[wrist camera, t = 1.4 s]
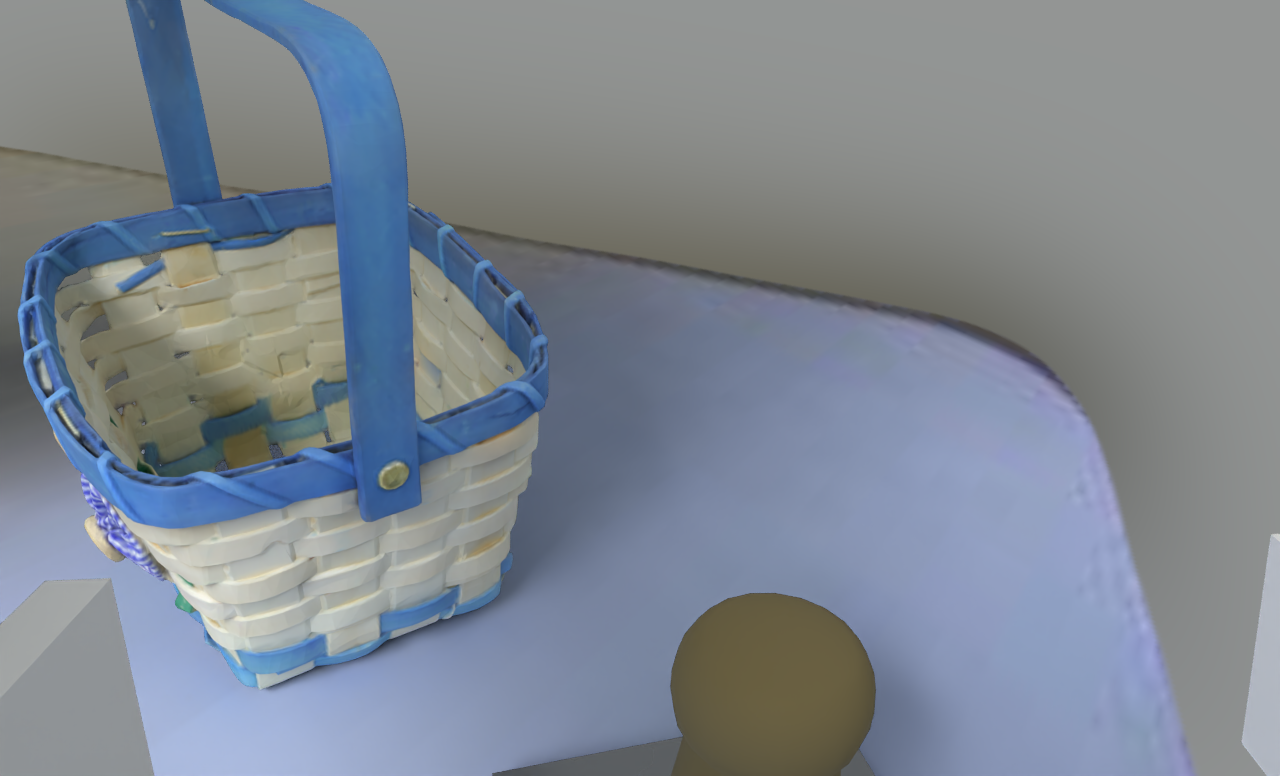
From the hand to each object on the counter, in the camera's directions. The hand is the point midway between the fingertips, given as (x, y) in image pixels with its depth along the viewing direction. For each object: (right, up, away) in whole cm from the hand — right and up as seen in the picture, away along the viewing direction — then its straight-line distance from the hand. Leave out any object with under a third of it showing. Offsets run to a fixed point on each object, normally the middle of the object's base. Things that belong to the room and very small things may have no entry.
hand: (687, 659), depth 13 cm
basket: (-14, -4, +33) cm, 36 cm away
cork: (+2, -13, +21) cm, 25 cm away
